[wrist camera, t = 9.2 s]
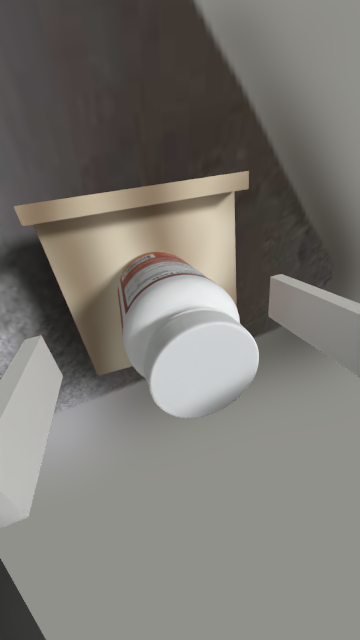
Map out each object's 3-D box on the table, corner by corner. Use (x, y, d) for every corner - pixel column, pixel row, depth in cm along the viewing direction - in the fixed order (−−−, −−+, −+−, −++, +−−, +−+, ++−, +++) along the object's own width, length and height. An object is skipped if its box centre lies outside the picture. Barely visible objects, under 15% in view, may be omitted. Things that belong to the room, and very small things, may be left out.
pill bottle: (179, 327, 21) (240, 431, 11) (110, 315, 18) (112, 434, 9) (202, 260, 18) (302, 320, 9) (127, 238, 16) (153, 285, 7)
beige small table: (100, 340, 26) (96, 391, 19) (48, 206, 19) (13, 206, 12) (212, 311, 28) (247, 346, 21) (203, 182, 21) (248, 170, 14)
